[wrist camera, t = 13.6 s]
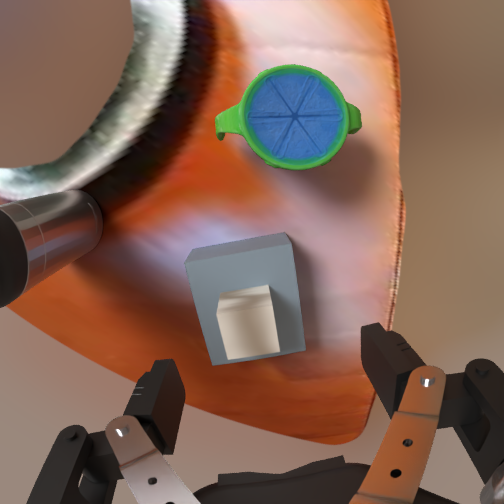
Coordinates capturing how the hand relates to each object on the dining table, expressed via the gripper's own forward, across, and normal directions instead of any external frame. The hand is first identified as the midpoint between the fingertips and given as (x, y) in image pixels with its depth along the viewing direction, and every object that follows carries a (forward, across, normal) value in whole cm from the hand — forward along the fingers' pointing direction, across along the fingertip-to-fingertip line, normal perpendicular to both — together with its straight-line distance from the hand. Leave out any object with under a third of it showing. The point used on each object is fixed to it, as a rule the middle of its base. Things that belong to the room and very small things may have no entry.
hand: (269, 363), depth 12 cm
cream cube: (+22, +2, +8) cm, 24 cm away
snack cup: (+28, -6, -12) cm, 31 cm away
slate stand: (+28, +2, +8) cm, 29 cm away
